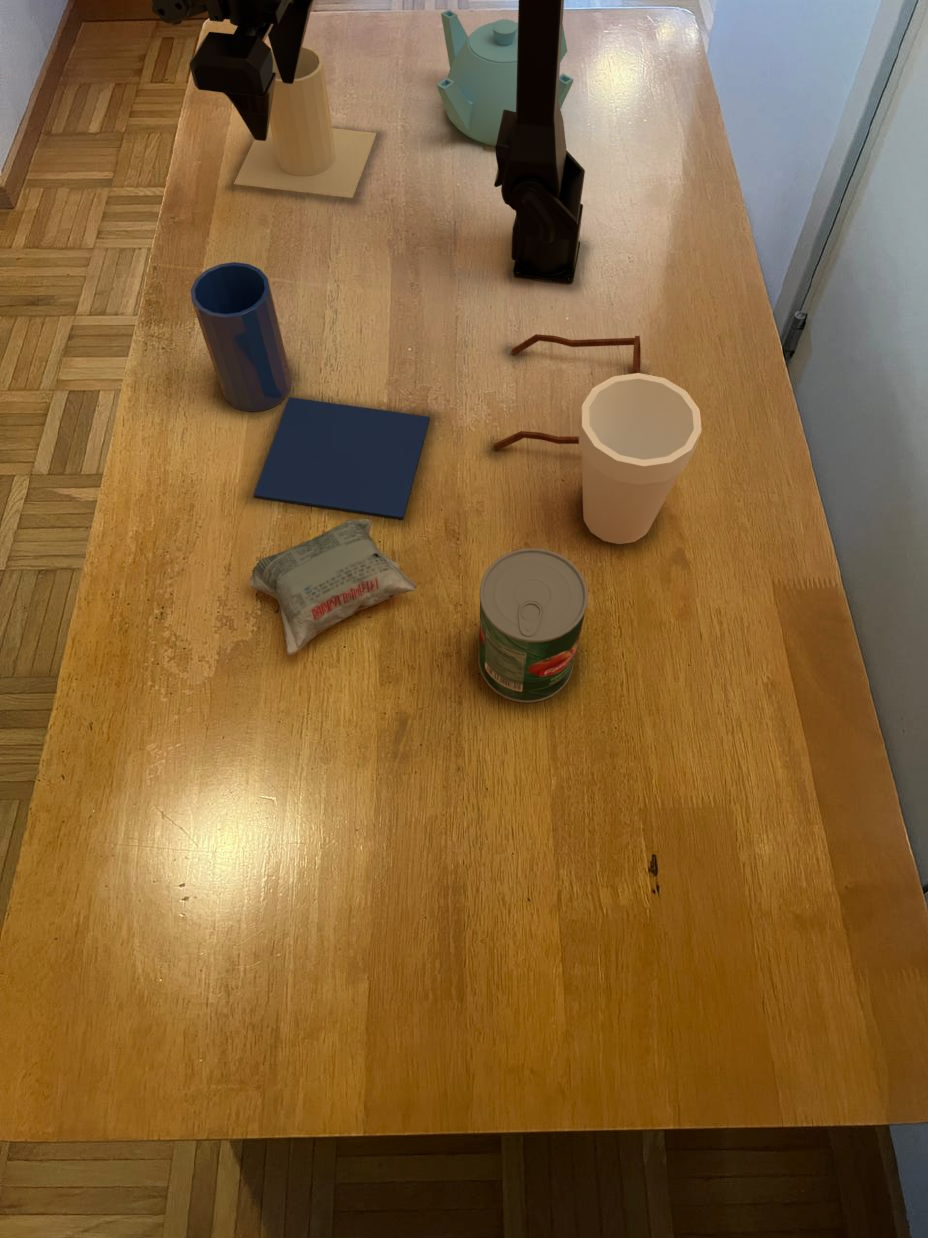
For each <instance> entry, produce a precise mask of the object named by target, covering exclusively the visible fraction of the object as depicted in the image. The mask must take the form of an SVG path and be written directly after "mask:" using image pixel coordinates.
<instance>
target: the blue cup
mask: <svg viewBox="0 0 928 1238" xmlns="http://www.w3.org/2000/svg"><path fill="white" fill-rule="evenodd" d="M190 298H191V299H190V300H191V303H192V306H193V309H194V312H195V315H196V318H197V321H198V324H199V327H200V330H201V333H202V336H203V339H204V342H205V345H206V348H207V351H208V354H209V358H210V359H211V360H210V361H211V364H212V366H213V369H214V372H215V375H216V378H217V381H218V384H219V387H220V391H221V393H222V394H223V397H224V399H225V400H226V401H227V403H228V404H230V405H231V406H232V407H234V408H236V409H237V410H240V411H244V412H254V413H255V412H262V411H267V410H270V409H272V408H274V407H276V406H278V405H279V404H280V403H282V402H283V401H284V400H285V399H286V398H287V397H288V395H289V394H290V392H291V390H292V389H291V388H292V383H293V382H292V375H291V371H290V367H289V362H288V357H287V353H286V350H285V349H286V348H285V344H284V341H283V336H282V332H281V328H280V324H279V319H278V316H277V311H276V306H275V301H274V298H273V294H272V290H271V285H270V281H269V278H268V277H267V275H266V274H265V273H264V271H262V269H260V268H258V267H257V266H254V265H252V264H250V263H245V262H237V261H231V262H226V263H219V264H216V265H214V266H211V267H209V268H207V269H205V270H204V271H203V272H201V273H200V274H199V275H198V276H197V277H196V278H195V279H194V281H193V283H192V286H191V288H190Z"/></svg>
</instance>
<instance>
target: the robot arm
mask: <svg viewBox="0 0 928 1238" xmlns="http://www.w3.org/2000/svg"><path fill="white" fill-rule="evenodd" d="M150 1H151V4H152V5H151V10H152V13H154V15H156V16H158V17H159V19H160V20H161V22H163V23H165V24H168V25H169V24H171V25H172V26H177V25H180V24H182V23H183V21H185V20H187V19H191V18H193V17H196V16H199V15H202V14H204V13H206V12H207V14H208V15H207V16H208V19H209V21H210V22H217V23H223V22H224V21H225V20H228V21H229V23H230V25H233V26H234V27H235V26H236V28H235V30H234V32H233V33H228V32H218V31H217V32H216V31H208V33H207V34H206V36H205V37H204V38H203V40H201V43H200V44H199V46H198V48H197V49H196V51H195V53H194V54H193V56H192V58H191V60H190V62H189V63H188V65H189V69H190V72H191V77H192V80H193V84H194V86H195V87H196V89H197V90H199V91H206V92H213V93H222V94H223V95H225V96H226V97H227V98H228V100H229V101H230V103H232V105H233V106H234V108H235V110H236V111H237V113H238V114H239V115H240V117H241V119H242V121H243V122H244V125H246V127H247V129H248V130H249V132H250V134H251V135H252V137H253V140H259V141H266V139H267V135H268V129H269V122H270V115H271V108H272V100H273V93H274V87H275V79H276V73H274V72H273V57H272V52H271V49H272V51H273V55H274V58H275V61H276V65H277V68H278V71H279V74H280V76H281V79H282V82H283V83H286V84H293V82H294V79H295V75H296V71H297V66H298V62H299V58H300V53H301V49H302V45H304V41H305V36H306V33H307V29H308V24H309V20H310V16H311V12H312V8H313V5H314V2H315V0H150ZM564 7H565V0H518V7H517V9H518V11H517V15H518V16H517V23H518V47H517V89H516V112H513V111H509V110H505V109H504V110H503V114H502V118H501V123H500V128H499V132H498V137H497V141H496V146H494V149H495V158H496V159H495V160H496V165H497V169H496V175H495V180H494V184H493V186H494V187H495V188H499V187H500V186H501V188H500V192H501V199H502V201H503V202H504V204H505V205H507V206H509V207H510V208H511V209H512V210H513V211H514V212H515V215H514V216H515V217H514V220H513V224H512V232H511V253H510V258H511V260H512V261H514V264H513V270H512V275H513V277H515V278H521V279H528V280H536V281H545V282H553V283H560V284H567V285H569V284H572V283H573V282H574V280H575V274H576V269H577V264H578V259H579V255H580V247H581V241H580V235H581V225H582V217H583V210H584V204H583V203H582V197H583V196H582V195H583V189H584V181H585V174H586V170H585V169H584V167H583V166H581V165H582V164H580V163H579V162H578V161H577V160H576V158H575V157H574V156H573V155H572V154H571V153H570V152H569V151H568V149H567V141H566V131H565V124H564V123H565V122H564V118H563V113H562V111H561V110H562V109H560V106H559V102H558V88H559V76H560V70H561V62H560V56H561V41H562V25H563V26H564V24H563V22H564ZM267 38H268V41H269V44H270V45H268V44H267V43H266V40H267Z"/></svg>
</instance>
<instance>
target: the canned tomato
mask: <svg viewBox="0 0 928 1238" xmlns="http://www.w3.org/2000/svg"><path fill="white" fill-rule="evenodd" d="M588 591H589V590H588V587H587V583H586V580H585V578H584V576H583V574H582V572H581V571H580V570H579V569H578V567H577V566H576V565H575V564H574V563H573V562H572V561H570V560H569V559H568V558H567V557H565V556H563V555H562V554H559V553H557V552H554V551H552V550H549V549H544V548H537V547H527V548H526V547H525V548H520V549H515V550H513V551H509V552H507V553H505V554H503V555H501V556H500V557H498V558H497V559H496V560H495V561H494V562H492V563H491V564H490V565H489V566H488V568H487V569H486V571H485V573H484V574H483V577H482V578H481V582H480V586H479V626H478V632H479V633H478V634H479V635H478V661H477V662H478V666H479V672H480V674H481V677H482V678H483V680H484V682H485V683H486V685H488V687H489V688H490V689H491V690H492V691H494V693H496V694H497V695H499V696H501V697H503V698H504V699H507V700H508V701H509V700H510V701H512V702H516V703H523V704H525V703H527V704H531V703H533V704H534V703H538V702H542V701H545V700H548V699H550V698H552V697H553V696H555V695H557V694H558V693H559V692H560V691H561V690H562V689H564V688H565V686H566V685H567V684H568V682H569V681H570V678H571V676H572V673H573V670H574V663H575V659H576V655H577V650H578V645H579V640H580V636H581V631H582V627H583V624H584V618H585V614H586V613H585V612H586V611H587V607H588V603H589V594H588V593H589V592H588Z"/></svg>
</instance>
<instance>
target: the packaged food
mask: <svg viewBox="0 0 928 1238" xmlns="http://www.w3.org/2000/svg"><path fill="white" fill-rule="evenodd" d="M372 524H373V522H372V520H371V518H359V519H351V520H345V521H344V522H342V523H340V524H338V525H336V526H335V527H333V528H331V529H329V530H327V531H324V532H323V533H321V534H319V535H317V536H316V537H313V538H312V539H308V540H306V541H303V542H301V543H299V544H296V545H294V546H292V547H290V548H288V549H285V550H283V551H281V552H279V553H275V554H272V555H269V556H265V557H261V559H259V561H258V562H257V563H256V565H255V566H254V567H253V569H252V570H251V573H252V575H251V577H250V578H249V586H250V587H251V588H252V589H253V591H260V592H262V593H264V594H266V595H268V596H270V597H272V598H273V599H275V600H276V601H277V603H278V605H279V608H280V614H281V621H282V625H283V632H284V637H285V647H286V653H287V655H288V656H292V655H295V654H297V653H298V652H300V651H301V650H302V649H303V648H304V647H305V645H307V644H308V643H309V642H310V641H311V640H312V639H313V638H315V637H316V636H317V635H319V634H321V633H323V632H324V631H326V630H327V629H330V628H331V627H332V626H334V625H336V624H338V623H339V622H341V621H344V620H345V619H347V618H349V617H351V616H353V615H354V614H355V613H357V612H359V611H361V610H364V609H368V608H371V607H373V606H375V605H377V604H380V603H383V602H385V601H388V600H390V599H393V598H395V597H398V596H400V595H405V594H406V593H410V592H414V591H417V584H416V583H415V582H414V581H413V579H410V578H409V577H408V576H407V575H406V574H405V572H403V571H401V570H400V569H399V568H400V564H399V563H397V562H395V561H394V560H391V558H389V557H388V556H387V555H386V554H385V553H383V552H382V550H381V549H379V547H378V546H377V545H376V543H375V541H374V539H373V538H372V537H371V536H370V532H371V526H372Z"/></svg>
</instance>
